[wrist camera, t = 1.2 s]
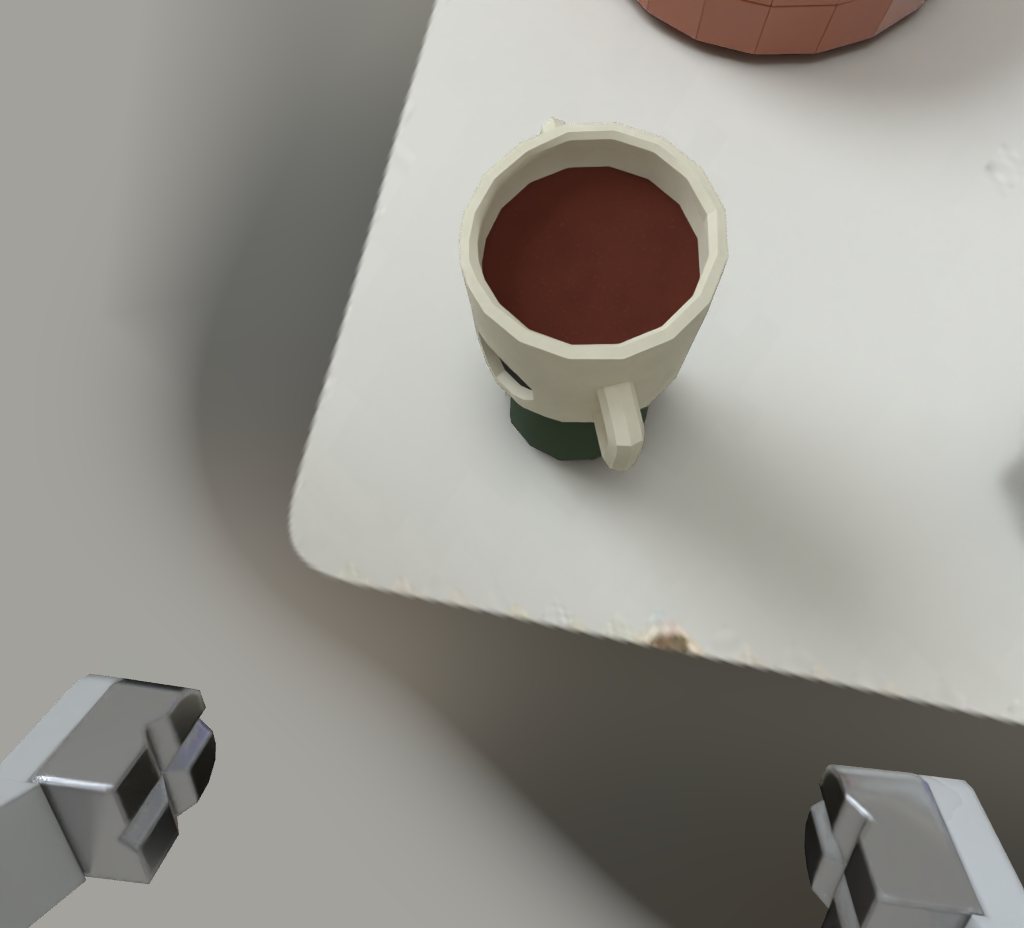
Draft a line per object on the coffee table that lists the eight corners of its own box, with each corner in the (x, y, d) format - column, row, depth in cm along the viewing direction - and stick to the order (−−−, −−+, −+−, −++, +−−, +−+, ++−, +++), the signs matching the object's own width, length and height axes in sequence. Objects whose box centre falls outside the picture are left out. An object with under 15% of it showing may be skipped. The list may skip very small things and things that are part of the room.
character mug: (476, 301, 32) (425, 90, 20) (628, 270, 32) (676, 38, 19) (521, 532, 30) (496, 461, 17) (686, 499, 29) (785, 403, 17)
